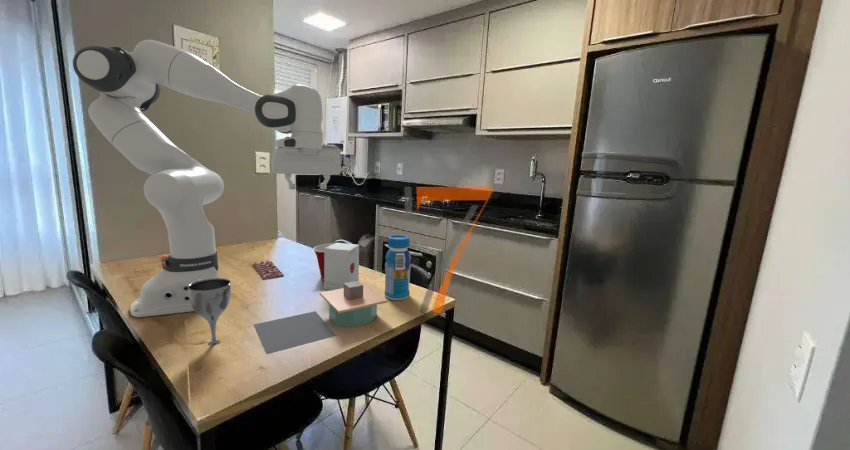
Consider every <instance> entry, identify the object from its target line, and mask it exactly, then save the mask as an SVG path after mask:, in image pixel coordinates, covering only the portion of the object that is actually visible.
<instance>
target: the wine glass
mask: <svg viewBox="0 0 850 450" xmlns="http://www.w3.org/2000/svg"><path fill="white" fill-rule="evenodd" d="M188 289H189V298H190V302H191V305H192V307H193V309H194V311H193V312H195V313H196V314H197V315H198V316H199V317H201V318H203V319H204V320H205V321H206V322H207V323H208V325H209V327H210V332H211V340H210V341H209V342H208V343H207V345H208V346H210V347H211V346H213V347H214V346H216V345H219V344H220V343H221V340H220V339H217V335H216V334H217V333H216V329H217V322H218V320H219V318H220V317H221V316H222V315H223V313H224V312H225V311H226V309H228V307H229V305H230V300H231V294H232V293H231V292H232V290H231V289H232V287H231V280H230V279H227V278H222V277H219V278H211V279H204V280H200V281H197V282H194V283H192V284H190V285H189V287H188Z"/></svg>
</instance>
